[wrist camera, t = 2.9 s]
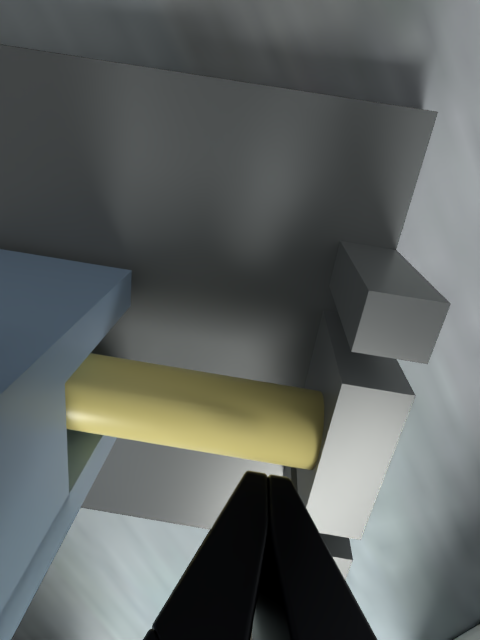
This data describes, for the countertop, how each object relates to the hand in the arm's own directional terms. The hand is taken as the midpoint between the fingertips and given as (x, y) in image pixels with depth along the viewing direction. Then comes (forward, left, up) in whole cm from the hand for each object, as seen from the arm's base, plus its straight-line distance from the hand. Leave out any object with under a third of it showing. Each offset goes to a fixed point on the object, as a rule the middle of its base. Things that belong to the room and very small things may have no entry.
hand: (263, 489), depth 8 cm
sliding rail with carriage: (0, +10, -6) cm, 12 cm away
